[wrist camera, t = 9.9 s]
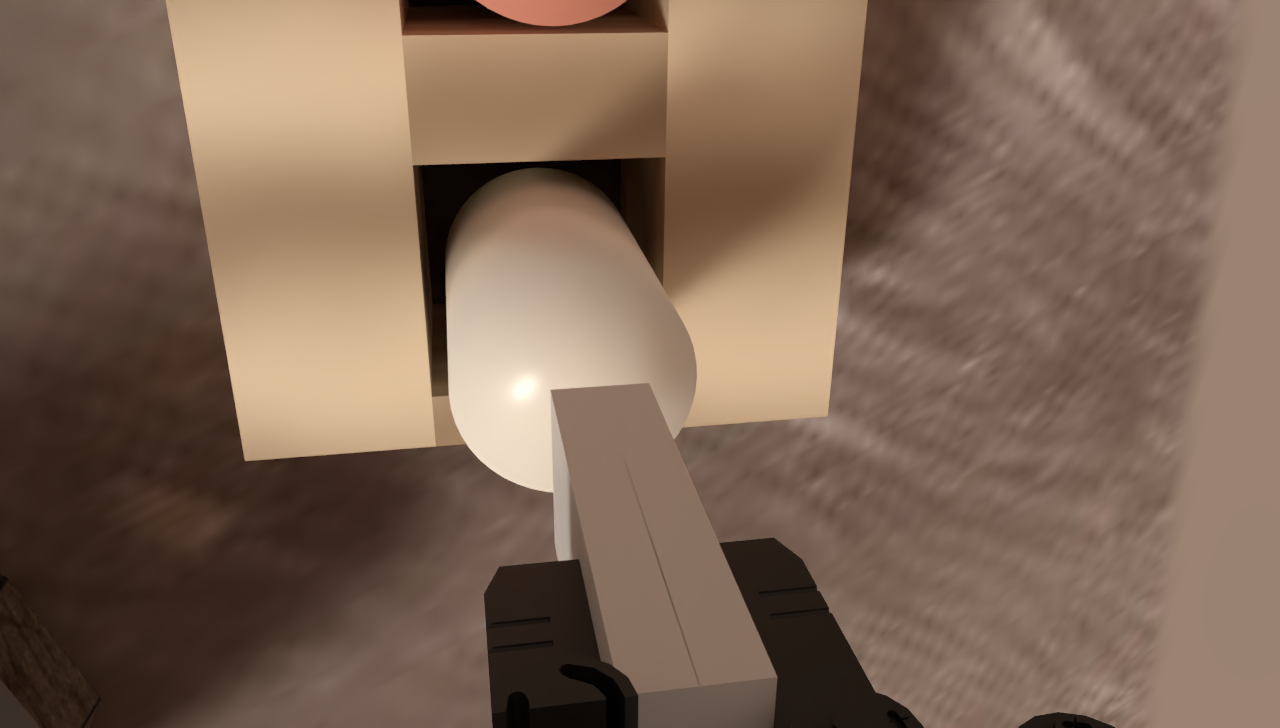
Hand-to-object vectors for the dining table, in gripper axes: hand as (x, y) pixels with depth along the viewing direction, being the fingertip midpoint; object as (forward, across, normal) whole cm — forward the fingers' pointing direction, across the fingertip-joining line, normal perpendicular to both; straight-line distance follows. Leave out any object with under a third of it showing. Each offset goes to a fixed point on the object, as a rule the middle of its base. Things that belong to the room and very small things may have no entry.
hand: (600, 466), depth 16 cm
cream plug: (+10, 0, 0) cm, 10 cm away
